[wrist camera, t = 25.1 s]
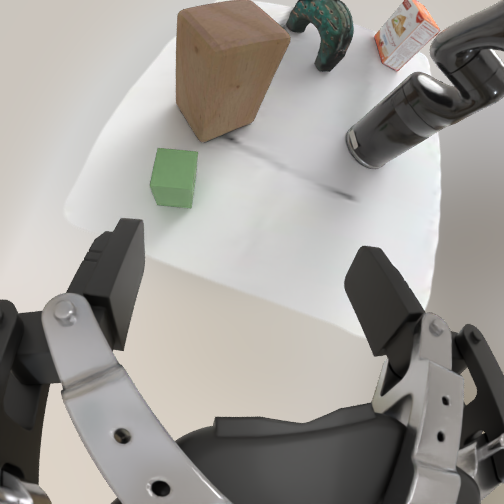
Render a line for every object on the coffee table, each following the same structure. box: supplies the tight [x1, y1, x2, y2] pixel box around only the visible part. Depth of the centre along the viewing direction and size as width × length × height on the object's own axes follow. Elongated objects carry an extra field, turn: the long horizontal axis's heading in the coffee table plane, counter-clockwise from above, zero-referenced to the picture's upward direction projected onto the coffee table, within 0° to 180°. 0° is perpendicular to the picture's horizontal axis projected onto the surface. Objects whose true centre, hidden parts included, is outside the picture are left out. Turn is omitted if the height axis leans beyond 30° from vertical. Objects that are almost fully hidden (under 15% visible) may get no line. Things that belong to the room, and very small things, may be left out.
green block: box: [150, 148, 198, 208], centre depth 34 cm, size 5×5×8 cm
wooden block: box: [176, 0, 290, 142], centre depth 31 cm, size 10×10×20 cm
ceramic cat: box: [286, 0, 354, 72], centre depth 38 cm, size 20×6×20 cm, turn 19°
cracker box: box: [374, 0, 440, 71], centre depth 44 cm, size 14×6×21 cm, turn 173°
